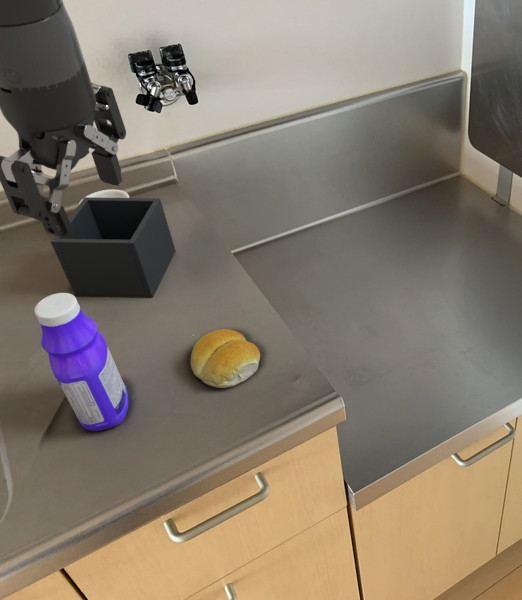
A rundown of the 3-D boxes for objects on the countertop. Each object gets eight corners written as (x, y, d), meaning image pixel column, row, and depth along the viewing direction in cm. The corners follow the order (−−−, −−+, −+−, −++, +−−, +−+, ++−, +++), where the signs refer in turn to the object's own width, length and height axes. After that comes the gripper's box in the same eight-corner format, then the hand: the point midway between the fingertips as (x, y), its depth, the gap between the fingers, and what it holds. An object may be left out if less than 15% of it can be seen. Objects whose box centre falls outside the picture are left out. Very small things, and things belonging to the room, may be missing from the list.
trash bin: (75, 296, 91) (50, 241, 84) (105, 250, 100) (84, 197, 93) (152, 297, 91) (133, 243, 84) (175, 251, 100) (160, 198, 93)
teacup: (91, 246, 100) (80, 218, 97) (87, 222, 106) (76, 195, 102) (154, 231, 104) (145, 204, 100) (147, 208, 109) (138, 182, 105)
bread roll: (231, 332, 85) (226, 311, 83) (271, 365, 81) (267, 344, 78) (179, 363, 81) (172, 342, 78) (217, 400, 76) (211, 379, 74)
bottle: (83, 394, 77) (28, 289, 65) (131, 384, 78) (85, 278, 67) (80, 440, 72) (19, 334, 60) (131, 428, 73) (81, 322, 61)
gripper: (46, 12, 55) (95, 158, 68) (-73, 92, 46) (8, 243, 58) (123, 32, 54) (158, 175, 67) (16, 116, 45) (80, 264, 58)
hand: (88, 207), depth 63 cm, fingers open, 8 cm apart
